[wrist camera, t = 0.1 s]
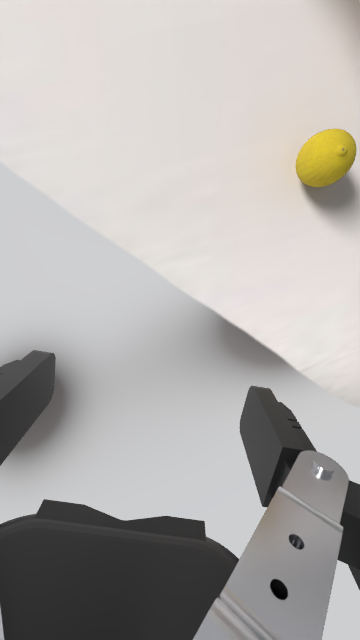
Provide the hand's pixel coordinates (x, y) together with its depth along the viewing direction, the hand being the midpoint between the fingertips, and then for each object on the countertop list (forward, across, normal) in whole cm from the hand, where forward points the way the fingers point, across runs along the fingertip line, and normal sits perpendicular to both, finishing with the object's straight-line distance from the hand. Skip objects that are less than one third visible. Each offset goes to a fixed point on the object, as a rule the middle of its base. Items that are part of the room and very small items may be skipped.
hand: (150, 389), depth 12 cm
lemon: (+30, -14, -17) cm, 37 cm away
